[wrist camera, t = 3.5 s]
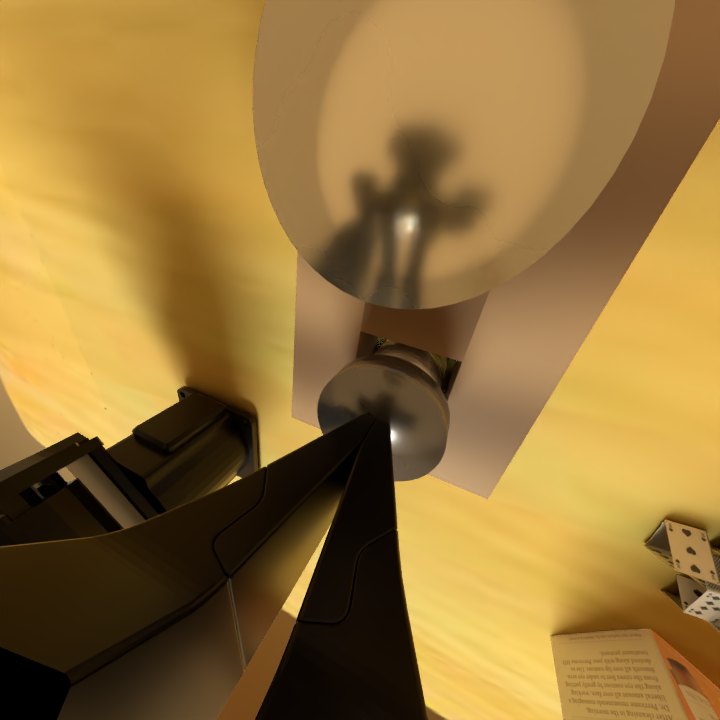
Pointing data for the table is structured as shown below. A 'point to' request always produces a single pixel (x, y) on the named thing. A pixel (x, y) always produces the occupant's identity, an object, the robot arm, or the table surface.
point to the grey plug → (394, 403)
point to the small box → (629, 678)
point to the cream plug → (445, 132)
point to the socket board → (528, 282)
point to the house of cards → (690, 569)
